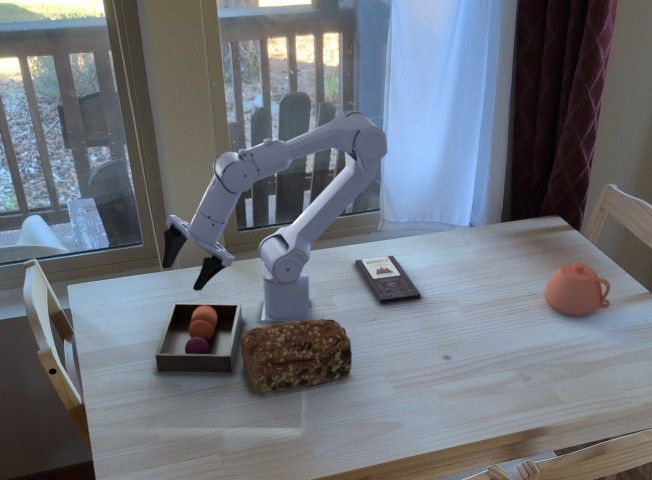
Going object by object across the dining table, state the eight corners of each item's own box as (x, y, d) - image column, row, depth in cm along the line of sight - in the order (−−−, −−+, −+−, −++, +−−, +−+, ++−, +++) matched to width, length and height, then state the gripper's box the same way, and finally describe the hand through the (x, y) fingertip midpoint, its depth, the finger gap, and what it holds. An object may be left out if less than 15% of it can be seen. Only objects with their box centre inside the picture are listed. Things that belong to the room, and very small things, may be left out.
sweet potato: (195, 321, 165) (193, 300, 162) (219, 321, 165) (217, 301, 162) (188, 347, 157) (185, 326, 154) (213, 348, 158) (211, 326, 155)
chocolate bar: (380, 299, 174) (355, 260, 187) (380, 303, 174) (355, 264, 188) (420, 294, 177) (392, 255, 190) (420, 298, 177) (392, 259, 191)
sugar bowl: (553, 286, 184) (561, 245, 178) (614, 304, 179) (624, 262, 173) (534, 311, 175) (541, 268, 169) (597, 330, 170) (607, 287, 164)
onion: (211, 352, 157) (209, 332, 154) (208, 365, 153) (206, 345, 150) (188, 351, 156) (185, 332, 154) (184, 365, 153) (181, 345, 150)
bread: (253, 398, 147) (250, 352, 141) (240, 365, 155) (237, 320, 149) (353, 380, 152) (354, 335, 146) (336, 349, 160) (336, 305, 154)
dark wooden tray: (242, 321, 167) (241, 303, 164) (232, 374, 152) (230, 356, 150) (175, 320, 166) (172, 302, 164) (158, 373, 151) (155, 355, 149)
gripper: (169, 193, 149) (139, 258, 153) (231, 237, 146) (199, 301, 151) (191, 195, 155) (161, 256, 160) (251, 236, 153) (219, 298, 158)
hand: (181, 278), depth 156 cm, fingers open, 7 cm apart
